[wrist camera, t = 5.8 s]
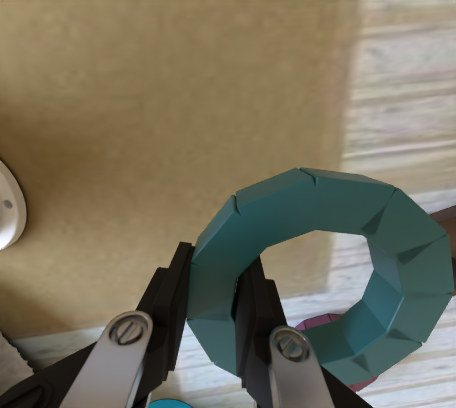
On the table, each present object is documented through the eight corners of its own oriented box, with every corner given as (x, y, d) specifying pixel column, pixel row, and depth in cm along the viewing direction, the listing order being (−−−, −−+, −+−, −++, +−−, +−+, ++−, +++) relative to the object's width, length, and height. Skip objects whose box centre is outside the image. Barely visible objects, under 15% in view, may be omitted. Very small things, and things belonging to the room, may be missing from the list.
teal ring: (154, 224, 10) (137, 245, 8) (393, 127, 9) (439, 126, 7) (241, 372, 13) (243, 412, 11) (425, 321, 12) (461, 356, 10)
